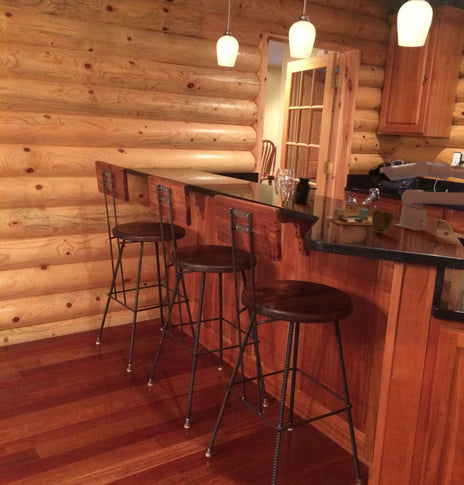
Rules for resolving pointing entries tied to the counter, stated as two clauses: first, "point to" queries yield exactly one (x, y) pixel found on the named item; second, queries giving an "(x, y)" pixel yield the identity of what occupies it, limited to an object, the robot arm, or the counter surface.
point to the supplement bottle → (302, 191)
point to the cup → (381, 221)
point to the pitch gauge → (347, 219)
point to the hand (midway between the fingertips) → (374, 176)
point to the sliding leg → (364, 214)
